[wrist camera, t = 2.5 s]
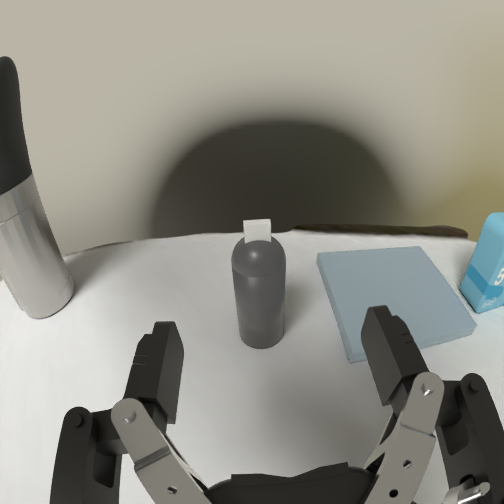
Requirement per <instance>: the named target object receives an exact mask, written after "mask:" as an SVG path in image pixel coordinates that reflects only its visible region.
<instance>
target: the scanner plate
mask: <svg viewBox="0 0 504 504" xmlns="http://www.w3.org/2000/svg"><path fill="white" fill-rule="evenodd" d="M317 265H318V268H319V270H320V273H321V276H322V279H323V282H324V285H325V288H326V291H327V293H328V296H329V299H330V302H331V305H332V308H333V311H334V314H335V318H336V321H337V324H338V327H339V330H340V333H341V336H342V340H343V343H344V346H345V349H346V353H347V356H348V359H349V363H353V362H359V361H365V360H367V357H366V354H365V351H364V349H363V346H362V342H361V329H362V326H363V323H364V319H365V316H366V313H367V309H368V308H369V307H373V306H380V305H386V306H387V307H388V308H389V310H390V312H391V314H392V316H395V315H398V316H399V317H400V318H401V319H402V320H403V321H404V322H405V323H406V325H407V327H408V329H409V331H410V334H411V335H412V337H413V339H414V342H415V343H416V345H417V347H418V349H422V348H426V347H429V346H433V345H437V344H441V343H444V342H448V341H451V340H455V339H458V338H461V337H465V336H468V335H471V334H472V333H473V331H474V329H475V328H476V326H477V325H476V323H475V322H474V320H473V319H472V317H471V315H470V314H469V312H468V311H467V309H466V308H465V306H464V305H463V303H462V302H461V301H460V299H459V298H458V296H457V295H456V293H455V292H454V290H453V289H452V288H451V286H450V285H449V284H448V282H447V281H446V279H445V278H444V277H443V275H442V274H441V273H440V271H439V270H438V269H437V267H436V266H435V265H434V264H433V262H432V261H431V260H430V258H429V257H428V256H427V255H426V253H425V252H424V251H423V250H422V248H421V247H420V246H415V247H401V248H386V249H371V250H356V251H341V252H326V253H318V254H317Z"/></svg>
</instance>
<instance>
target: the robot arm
mask: <svg viewBox="0 0 504 504" xmlns="http://www.w3.org/2000/svg"><path fill="white" fill-rule="evenodd" d="M0 274H1V276H2V277H3V279H4V281H5V283H6V285H7V287H8V288H9V290H10V292H11V294H12V295H13V297H14V299H15V300H16V302H17V304H18V305H19V307H20V308H21V310H25V312H26V313H27V315H28V316H29V317H32V318H36V319H39V318H45V317H48V316H50V315H52V314H54V313H56V312H57V311H59V310H60V309H61V308H62V307H63V306H65V304H66V303H67V302H68V301H69V300H70V298H71V297H72V295H73V292H74V288H75V286H74V282H73V280H72V278H71V276H70V273H69V271H68V269H67V267H66V264H65V262H64V260H63V257H62V255H61V253H60V250H59V248H58V245H57V243H56V241H55V238H54V236H53V233H52V231H51V228H50V225H49V222H48V220H47V217H46V214H45V211H44V208H43V206H42V202H41V200H40V196H39V193H38V190H37V186H36V183H35V180H34V176H33V173H32V169H31V165H30V162H29V156H28V150H27V145H26V140H25V135H24V129H23V122H22V114H21V103H20V90H19V81H18V74H17V70H16V67H15V64H14V62H13V61H12V59H10V58H9V57H6V56H5V57H0ZM361 342H362V346H363V349H364V351H365V354H366V357H367V360H368V363H369V366H370V368H371V371H372V374H373V377H374V380H375V383H376V386H377V390H378V393H379V396H380V399H381V402H382V405H383V406H386V405H389V404H391V405H392V408H393V410H392V412H391V414H390V416H389V419H388V421H387V424H386V426H385V428H384V430H383V433H382V435H381V437H380V439H379V441H378V443H377V446H376V447H375V449H374V451H373V452H372V453H371V455H370V456H369V458H368V460H367V461H366V463H365V465H364V467H363V469H361V468H358V467H348V462H344V463H340V464H334V465H329V466H323V467H319V468H316V469H314V470H311V471H309V472H306V473H303V474H301V475H298V476H295V477H280V476H273V475H267V474H231V479H228V480H225V481H222V482H219V483H217V484H215V485H213V486H212V487H210V488H208V486H207V485H206V484H205V483H204V482H203V480H202V479H201V478H200V477H199V476H198V474H197V473H196V472H195V471H194V470H193V469H192V468H191V467H190V465H189V464H188V463H187V461H186V460H185V459H184V457H183V456H182V455H181V453H180V452H179V451H178V449H177V448H176V446H175V445H174V444H173V442H172V441H171V439H170V438H169V436H168V435H167V434H166V428H167V424H175V421H176V412H177V404H178V396H179V388H180V380H181V373H182V366H183V359H184V349H183V344H182V341H181V338H180V335H179V333H178V330H177V327H176V324H175V322H174V321H165V322H156V323H155V325H154V328H153V332H152V334H145V335H144V336H143V338H142V339H141V340H140V341H139V343H138V345H137V348H136V352H135V356H134V359H133V365H132V367H131V371H130V374H129V378H128V382H127V386H126V390H125V394H124V397H123V399H122V400H120V401H119V402H117V403H116V404H115V405H114V407H113V408H112V409H109V410H104V411H98V412H92V413H90V412H89V411H88V410H87V409H86V408H83V407H74V408H72V409H70V410H69V411H68V412H67V413H66V415H65V417H64V420H63V424H62V429H61V433H60V438H59V443H58V448H57V454H56V459H55V465H54V471H53V478H52V486H51V494H50V504H119V487H120V473H121V462H122V454H128V453H129V455H130V457H131V458H132V460H133V462H134V464H135V466H134V470H135V472H136V474H137V476H138V478H139V479H140V481H141V483H142V484H143V486H144V487H145V489H146V490H147V492H148V493H149V495H150V496H151V498H152V499H153V501H154V502H155V504H417V503H415V502H414V501H412V500H413V498H414V496H415V494H416V491H417V489H418V487H419V485H420V482H421V480H422V477H423V475H424V472H425V470H426V467H427V465H428V462H429V459H430V457H431V454H432V451H433V448H434V445H435V441H436V437H435V436H434V435H433V431H434V427H435V430H436V433H437V437H438V441H439V445H440V449H441V453H442V457H443V461H444V466H445V470H446V475H447V480H448V485H449V491H448V492H447V494H446V495H445V498H444V500H443V502H442V504H504V430H503V427H502V424H501V421H500V418H499V416H498V413H497V410H496V407H495V405H494V402H493V400H492V397H491V395H490V392H489V390H488V387H487V385H486V383H485V381H484V379H483V378H482V377H481V376H480V375H478V374H475V373H469V374H467V375H465V376H464V377H463V378H462V380H461V381H445V380H442V379H441V378H440V377H439V376H438V375H436V374H435V373H432V372H430V371H429V370H428V368H427V366H426V364H425V361H424V359H423V357H422V355H421V353H420V351H419V349H418V347H417V345H416V343H415V342H414V339H413V337H412V335H411V334H410V331H409V329H408V327H407V325H406V323H405V322H404V321H403V320H402V319H401V318H400V317H399V316H398V315H395V316H392V314H391V312H390V310H389V308H388V307H387V306H386V305H380V306H373V307H369V308H368V309H367V313H366V316H365V319H364V323H363V326H362V329H361Z"/></svg>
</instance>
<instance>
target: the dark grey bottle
mask: <svg viewBox="0 0 504 504" xmlns="http://www.w3.org/2000/svg"><path fill="white" fill-rule="evenodd" d="M243 222H244V238H242V239H241V240H240V241H239V242H238V243H237V244H236V246H235V248H234V250H233V253H232V258H231V262H232V272H233V281H234V289H235V298H236V306H237V314H238V322H239V331H240V337H241V339H242V341H243V342H244V343H245V344H246V345H248V346H250V347H252V348H256V349H266V348H270V347H272V346H274V345H276V344H277V343H278V342H279V341H280V340H281V338H282V336H283V327H284V302H285V272H286V257H285V252H284V249H283V247H282V246H281V244H280V243H279V242H278V241H277V240H276V239H275V238H273V237H272V236H271V223H270V219H262V220H246V221H245V220H244V221H243Z"/></svg>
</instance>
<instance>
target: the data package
mask: <svg viewBox="0 0 504 504" xmlns="http://www.w3.org/2000/svg"><path fill="white" fill-rule="evenodd" d="M460 290H461V292H462V293H463V295H464V296H465V297H466V299H467V300H468V301H469V303H470V304H471V306H472V307H473V308H474V310H475V311H476V312H477V313H482V312H485V311H488V310H491V309H494V308H497V307H499V306H502V305H504V213H503V212H500V213H498V212H497V213H492V214H490V215H489V216H488V218H487V219H486V220H485V222H484V225H483V228H482V231H481V234H480V237H479V240H478V243H477V245H476V248H475V251H474V253H473V256H472V259H471V261H470V264H469V266H468V269H467V271H466V273H465V276H464V278H463V280H462V283H461V285H460Z"/></svg>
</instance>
